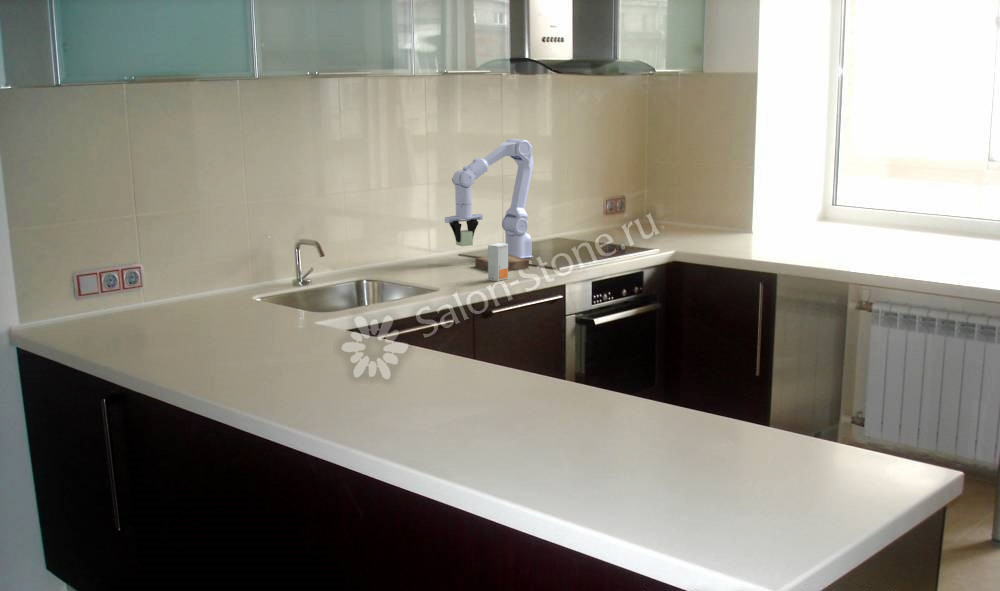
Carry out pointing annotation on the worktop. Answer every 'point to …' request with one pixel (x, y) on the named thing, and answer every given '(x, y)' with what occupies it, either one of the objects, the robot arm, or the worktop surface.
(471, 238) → the sage block
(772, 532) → the worktop surface
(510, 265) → the walnut base
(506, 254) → the skincare box
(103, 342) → the worktop surface
